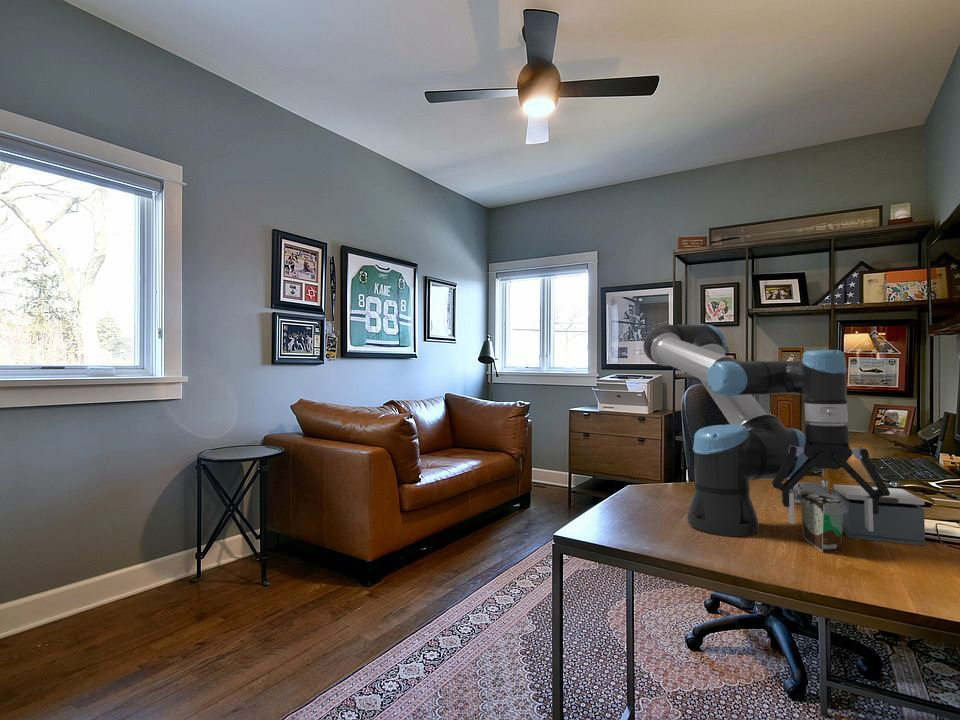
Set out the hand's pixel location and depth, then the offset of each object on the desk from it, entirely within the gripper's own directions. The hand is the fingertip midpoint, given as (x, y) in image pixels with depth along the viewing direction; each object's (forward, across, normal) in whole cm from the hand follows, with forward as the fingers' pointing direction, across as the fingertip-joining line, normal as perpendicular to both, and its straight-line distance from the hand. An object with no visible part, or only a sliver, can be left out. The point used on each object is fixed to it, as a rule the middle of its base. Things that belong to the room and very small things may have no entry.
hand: (829, 526), depth 107 cm
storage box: (+4, +11, +14) cm, 19 cm away
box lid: (-4, +11, +14) cm, 18 cm away
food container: (+4, 0, 0) cm, 4 cm away
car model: (+4, +3, +44) cm, 44 cm away
